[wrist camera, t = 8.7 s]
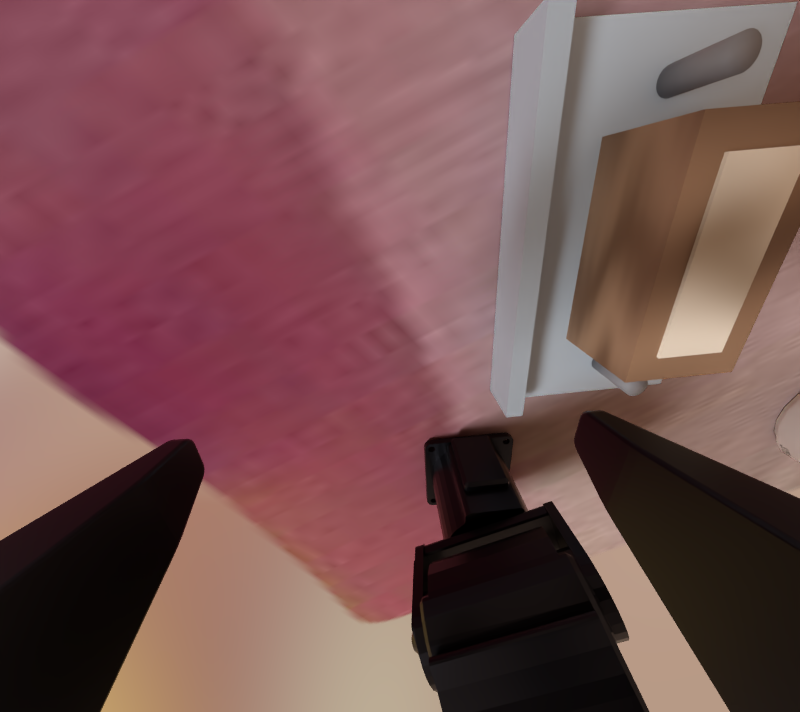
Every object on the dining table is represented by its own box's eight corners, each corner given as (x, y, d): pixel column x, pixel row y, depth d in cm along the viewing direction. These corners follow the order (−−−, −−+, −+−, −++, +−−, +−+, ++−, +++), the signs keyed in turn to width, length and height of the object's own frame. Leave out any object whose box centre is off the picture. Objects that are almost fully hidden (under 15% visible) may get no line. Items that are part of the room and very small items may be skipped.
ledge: (646, 374, 22) (702, 411, 18) (490, 390, 22) (514, 430, 18) (764, 17, 14) (911, -52, 10) (514, 34, 13) (568, -29, 10)
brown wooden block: (647, 330, 19) (734, 373, 14) (566, 338, 19) (627, 384, 14) (709, 127, 14) (867, 94, 10) (602, 136, 14) (709, 107, 10)
